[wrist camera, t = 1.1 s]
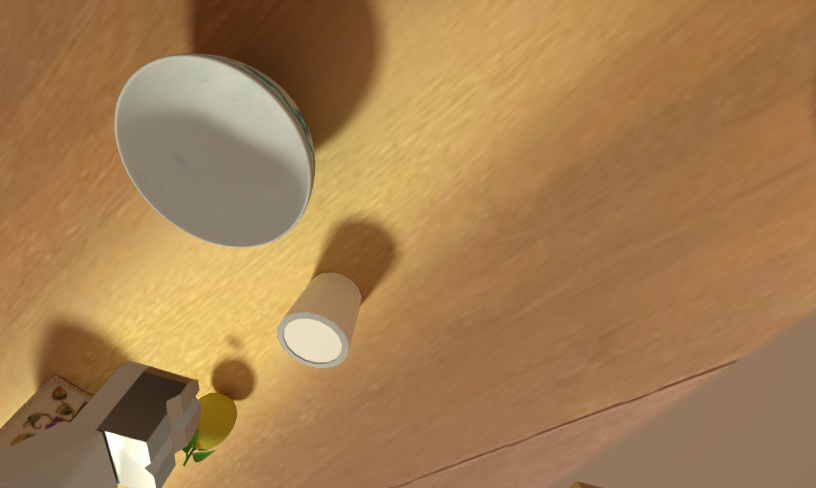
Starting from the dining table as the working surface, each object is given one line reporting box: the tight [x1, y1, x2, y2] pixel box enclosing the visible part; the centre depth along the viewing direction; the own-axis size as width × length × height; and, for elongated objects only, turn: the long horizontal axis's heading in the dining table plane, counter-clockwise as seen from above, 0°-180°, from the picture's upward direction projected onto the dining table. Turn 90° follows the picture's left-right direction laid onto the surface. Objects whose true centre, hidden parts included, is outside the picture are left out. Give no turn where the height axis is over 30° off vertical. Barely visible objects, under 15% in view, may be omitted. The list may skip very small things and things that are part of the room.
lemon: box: [182, 393, 237, 466], centre depth 61 cm, size 7×6×10 cm
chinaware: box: [115, 53, 315, 248], centre depth 41 cm, size 15×15×8 cm
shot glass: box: [277, 272, 362, 368], centre depth 50 cm, size 7×7×7 cm
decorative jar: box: [0, 375, 93, 452], centre depth 66 cm, size 12×12×18 cm
